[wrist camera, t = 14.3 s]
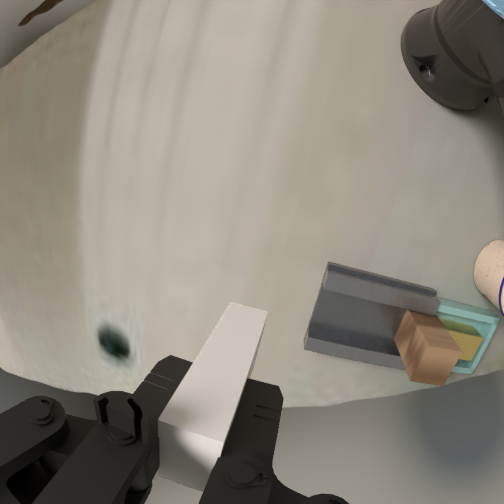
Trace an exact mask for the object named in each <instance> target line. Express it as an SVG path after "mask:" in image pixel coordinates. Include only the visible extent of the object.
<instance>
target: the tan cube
mask: <svg viewBox="0 0 504 504" xmlns="http://www.w3.org/2000/svg"><path fill="white" fill-rule="evenodd" d="M438 318H439V320H440V321H441V322H442V324H443V325H444V326H445V328H446V329H447V331H448V332H449V333H450V335H451V336H452V338H453V339H454V340H455V342H456V343H457V345H459V343H460V341H461V339H462V337H463V335H464V333H463V332H462V330H461V329H460V328H459V326H458V325H457V324H456V323H455V321H453V320H448V319H444V318H440V317H438Z"/></svg>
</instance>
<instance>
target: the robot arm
mask: <svg viewBox="0 0 504 504" xmlns="http://www.w3.org/2000/svg"><path fill="white" fill-rule="evenodd" d="M401 51H402V56H403V59H404V62H405V64H406V67H407V69H408V71H409V72H410V74H411V76H412V77H413V79H414V80H415V81H416V83H417V84H418V85H419V86H420V87H421V88H422V89H423V90H424V91H425V92H426V93H427V94H428V95H429V96H430V97H432V98H433V99H434V100H436V101H437V102H439V103H441V104H443V105H445V106H447V107H450V108H453V109H457V110H472V109H476V108H479V107H482V106H484V105H486V104H487V103H489V102H490V101H491V100H492V99H493V98H494V97H495V95H496V97H497V100H498V102H499V105H500V108H501V111H502V113H503V116H504V0H442V1H441V2H440V3H439V5H436V6H434V7H431V8H427V9H423V10H421V11H419V12H417V13H416V14H415V15H413V16H412V17H411V18H410V20H409V21H408V23H407V24H406V26H405V27H404V29H403V32H402V36H401ZM267 314H268V312H267V311H263V310H260V309H256V308H252V307H248V306H245V305H241V304H237V303H234V302H230V304H229V305H228V307H227V308H226V310H225V312H224V313H223V315H222V317H221V318H220V320H219V322H218V323H217V325H216V326H215V328H214V330H213V331H212V333H211V335H210V336H209V338H208V339H207V341H206V343H205V344H204V346H203V348H202V349H201V351H200V352H199V354H198V356H197V357H196V359H195V361H194V362H190V361H187V360H184V359H181V358H178V357H175V356H172V355H170V356H168V357H166V358H164V359H162V360H160V361H158V363H157V364H156V365H155V366H154V368H153V369H152V370H151V372H150V373H149V374H148V375H147V377H146V378H145V379H144V382H142V383H141V384H140V386H139V387H138V388H137V389H136V391H135V392H134V393H133V394H130V393H127V392H123V391H110V392H106V393H103V394H100V395H99V396H98V397H96V398H95V399H94V404H95V410H96V414H97V420H88V419H84V418H79V417H75V416H71V415H67V414H66V413H65V410H64V408H63V407H62V405H61V404H60V403H59V402H58V401H56V400H55V399H53V398H50V397H46V396H35V397H32V398H29V399H27V400H25V401H23V402H21V403H19V404H18V405H16V406H14V407H12V408H10V409H9V410H7V411H5V412H3V413H1V414H0V504H144V503H145V501H146V499H147V498H148V495H149V494H150V492H151V488H152V479H153V478H154V476H155V474H156V472H157V470H158V474H159V476H160V477H163V478H165V479H168V480H171V481H174V482H176V483H179V484H182V485H185V486H187V487H190V488H193V489H197V490H199V491H203V494H202V497H201V499H200V502H199V504H349V503H348V502H346V501H345V500H344V499H343V498H340V497H338V496H335V495H333V494H318V495H314V496H311V497H306V496H304V495H302V494H300V493H297V492H295V491H293V490H291V489H289V488H288V487H286V486H284V485H283V484H282V483H281V482H280V481H279V480H278V479H277V477H276V475H275V474H274V471H273V468H272V460H273V455H274V450H275V444H276V439H277V433H278V428H279V422H280V416H281V410H282V405H283V399H284V398H283V396H282V393H281V391H280V388H279V386H276V385H272V384H268V383H264V382H260V381H256V380H253V379H250V376H251V373H252V370H253V367H254V363H255V360H256V356H257V352H258V348H259V345H260V341H261V337H262V333H263V330H264V326H265V322H266V318H267Z"/></svg>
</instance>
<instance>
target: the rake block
mask: <svg viewBox="0 0 504 504" xmlns="http://www.w3.org/2000/svg"><path fill="white" fill-rule="evenodd" d="M394 341H395V343H396V345H397V348H398V350H399V353H400V355H401V358H402V360H403V363H404V366H405V368H406V371H407V373H408V376H409V379H410V381H413V382H420V383H427V384H435V385H444V383H445V382H446V380H447V378H448V377H449V375H450V373H451V371H452V370H453V368H454V366H455V364H456V362H457V361H458V359H459V357H460V355H461V353H462V351H461V349H460V348H459V346H458V345H457V343H456V342H455V340H454V339H453V338H452V336H451V335H450V333H449V332H448V331H447V329H446V328H445V326H444V325H443V324H442V322H441V321H440V320H439V318H438V317H437V315H430V314H426V313H422V312H417V311H413V310H409V309H406V312H405V314H404V316H403V319H402V321H401V324H400V326H399V328H398V330H397V333H396V335H395V337H394Z"/></svg>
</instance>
